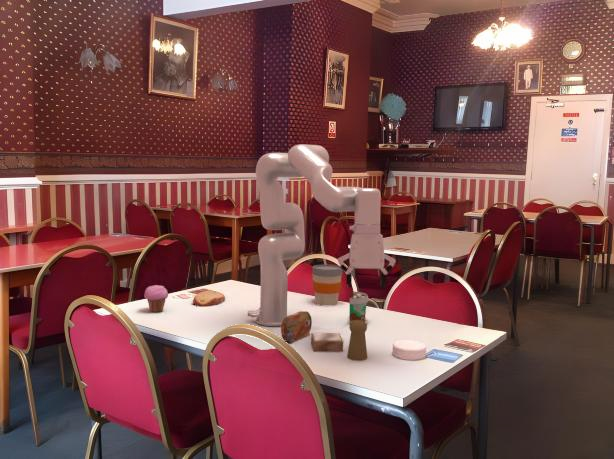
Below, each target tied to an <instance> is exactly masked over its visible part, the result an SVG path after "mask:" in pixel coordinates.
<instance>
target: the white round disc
mask: <svg viewBox="0 0 614 459" xmlns="http://www.w3.org/2000/svg"><path fill="white" fill-rule="evenodd" d="M392 355H393V356H394V357H395V358H397V359H400V360H405V361H419V360H420V361H421V360H423V359H425V358H426V357H427V346H426V344H425V343H423V342H421V341H417V340H413V339H399V340H397V341H394V342H393V343H392Z"/></svg>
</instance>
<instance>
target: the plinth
mask: <svg viewBox="0 0 614 459" xmlns="http://www.w3.org/2000/svg"><path fill="white" fill-rule="evenodd" d="M310 334H311V336H310V337H311V338H310V343H311V349H312V350H313V352H344V340H343V338H342V335H341V333H339V332H312V333H311V332H310Z"/></svg>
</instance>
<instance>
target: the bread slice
mask: <svg viewBox="0 0 614 459" xmlns="http://www.w3.org/2000/svg"><path fill="white" fill-rule="evenodd" d="M225 301H226V295H225V294H224V293H223V292H220V291H214V290H204V291H201V292H199V293H197V294H195V295H194V297H193V299H192V303H193V304H194V306H196V307H198V308H199V307H201V308H203V307H212V306H218V305H220V304H223V303H224V302H225Z"/></svg>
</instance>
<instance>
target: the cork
mask: <svg viewBox="0 0 614 459" xmlns="http://www.w3.org/2000/svg"><path fill="white" fill-rule="evenodd" d="M348 328H349V331H350V336H349V337H350V338H349V343H348V348H347V355H346V357H347V359H348V360H351V361H358V362H359V361H365V360H367V359H368V348H367V340H366V339H367V338H366V333H367V329H368V323H367V322H366V320H365V321H362V320H353V321H351V322H350V325H349V327H348Z"/></svg>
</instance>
